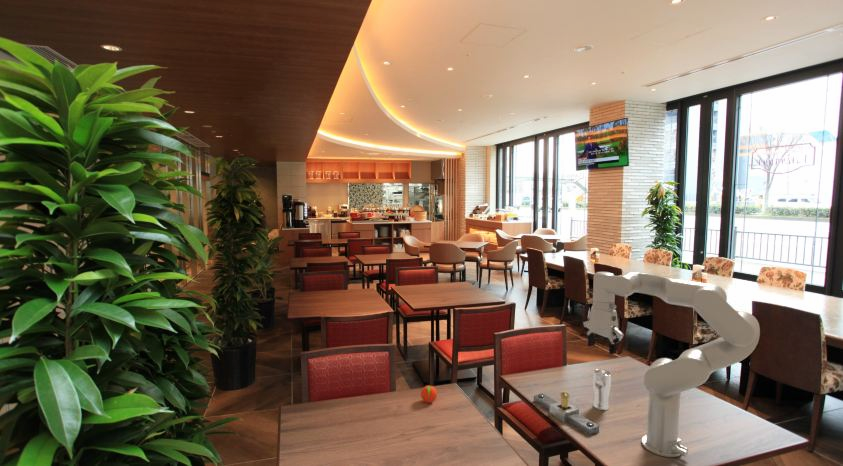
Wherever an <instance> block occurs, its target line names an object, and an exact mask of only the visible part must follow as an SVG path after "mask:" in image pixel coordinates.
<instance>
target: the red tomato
mask: <svg viewBox="0 0 843 466" xmlns="http://www.w3.org/2000/svg"><path fill="white" fill-rule="evenodd" d="M420 396H421V399H422V401H424V402H425V403H427V404H429V403H433V402H435V400H436V399H437V397H438V392H437V389H436V388H435V387H434V386H432V385H425V386H424V387H423V388H422V389H421V392H420Z"/></svg>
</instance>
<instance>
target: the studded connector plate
mask: <svg viewBox="0 0 843 466" xmlns="http://www.w3.org/2000/svg"><path fill="white" fill-rule="evenodd" d="M533 402H535V403H536V404H538V405H539V406H541V407H542V408H544V409H546V410H547V411H549V414H550V415H552V416H553V417H555V418H556V419H557V420H559V421H561V422H563V423H566V422H567V423H568V424H570V425H572V426H573V425H574V427H576V428H577V429H578V430H580V431H582V433H585V434H586V433H587V434H586V435H589V436H591V435H595V434H597V433H600V425H598V424H597V423H595V422H593V421H592V420H590V419H588V418H586V417H585V416H583V415H581V414H580V408H579V407H576V406H575V405H573V404H571V403H570V402H568V409H567V410H563V409H561V401H557V400H555V399H553V398H552V397H550V396H549V395H547V394H545V393H539V394H536V395H533Z"/></svg>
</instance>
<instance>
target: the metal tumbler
mask: <svg viewBox="0 0 843 466" xmlns="http://www.w3.org/2000/svg"><path fill="white" fill-rule="evenodd" d="M592 387H593V394H594V400H593V404H592V406H593V408H595V409H597V410H599V411H608V410H609V409H610V405H609V396H610V393H611V389H612V373H611V371H609V370H607V369H606V370H605V369H601V368H597V369H594V370H593V377H592Z"/></svg>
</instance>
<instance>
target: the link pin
mask: <svg viewBox="0 0 843 466" xmlns="http://www.w3.org/2000/svg"><path fill="white" fill-rule="evenodd" d="M559 395H560V402H561V409H563V410H567V409H568V403H569V397H570V393H568V392H566V391H562V392H560V394H559Z"/></svg>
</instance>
